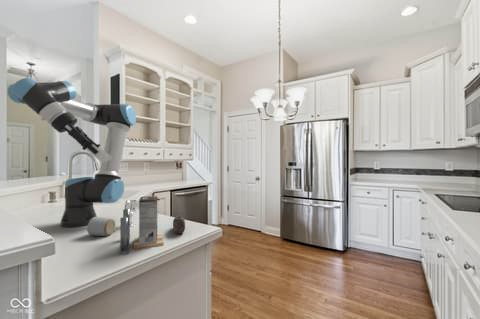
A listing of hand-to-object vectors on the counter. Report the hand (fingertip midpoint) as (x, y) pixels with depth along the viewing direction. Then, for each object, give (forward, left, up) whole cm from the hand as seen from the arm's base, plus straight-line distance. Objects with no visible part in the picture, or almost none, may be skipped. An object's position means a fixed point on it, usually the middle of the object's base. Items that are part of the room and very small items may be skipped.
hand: (107, 160), depth 89 cm
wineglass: (-23, +8, -32) cm, 40 cm away
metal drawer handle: (+6, +7, -32) cm, 33 cm away
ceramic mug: (-13, -3, -32) cm, 35 cm away
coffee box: (+6, +15, -31) cm, 35 cm away
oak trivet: (+6, +15, -32) cm, 35 cm away
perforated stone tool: (-5, +28, -32) cm, 43 cm away
